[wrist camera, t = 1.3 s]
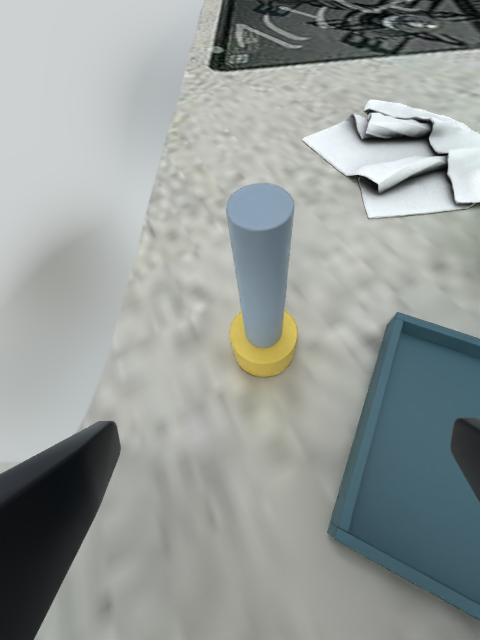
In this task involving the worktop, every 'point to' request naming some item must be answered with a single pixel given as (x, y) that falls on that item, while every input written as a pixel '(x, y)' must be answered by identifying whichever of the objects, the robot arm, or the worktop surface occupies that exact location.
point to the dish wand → (262, 277)
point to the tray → (416, 464)
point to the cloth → (405, 159)
